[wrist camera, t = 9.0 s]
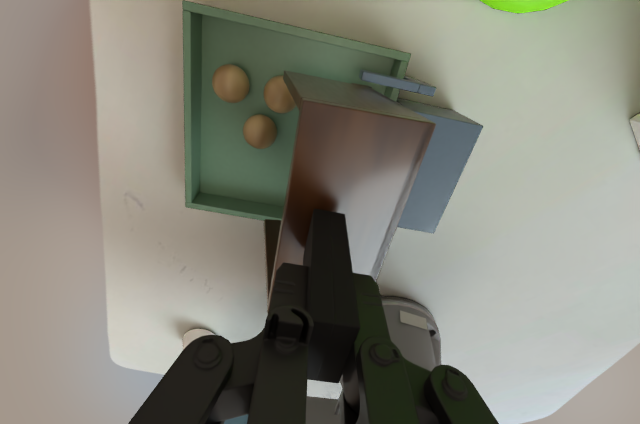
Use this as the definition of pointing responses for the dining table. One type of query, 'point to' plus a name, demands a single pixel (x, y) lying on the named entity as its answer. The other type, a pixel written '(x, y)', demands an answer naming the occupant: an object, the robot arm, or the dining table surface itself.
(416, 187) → the stand
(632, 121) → the milk
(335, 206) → the brown wooden box
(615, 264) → the dining table surface
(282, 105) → the wooden ball
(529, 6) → the wineglass
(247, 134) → the wooden ball
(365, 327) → the robot arm
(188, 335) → the lidless jar
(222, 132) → the tray
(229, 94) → the wooden ball
